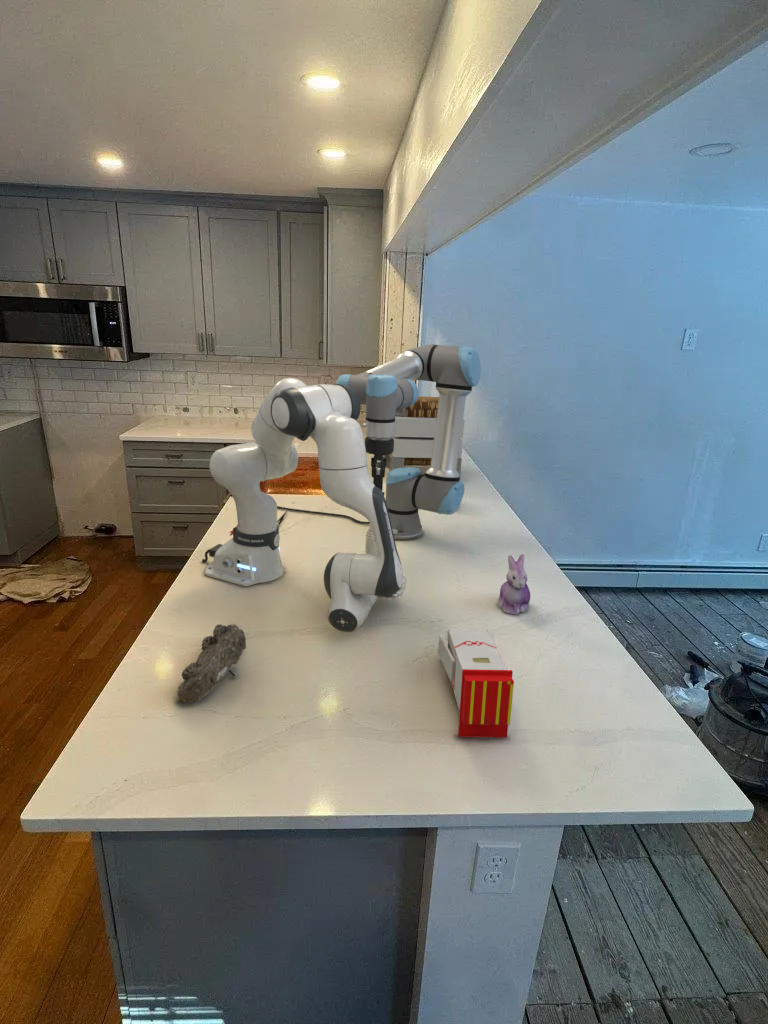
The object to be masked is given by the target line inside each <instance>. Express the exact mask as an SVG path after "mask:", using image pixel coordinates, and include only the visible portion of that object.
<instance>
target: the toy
mask: <svg viewBox="0 0 768 1024" xmlns="http://www.w3.org/2000/svg"><path fill="white" fill-rule="evenodd" d="M446 640H447V643H446V641H445V639H444V636H443V635H442V634H439V637H438V646H437V656H438V657H439V659H440V661H441V663H442V666H443V668H444V670H445V672H446V674H447V677H448V679H449V681H450V684H451V687H452V690H453V693H454V697H455V701H456V705H457V708H458V711H459V714H458V715H459V716H458V730H457V731H458V732H457V737H458V738H508V731H509V726H510V725H511V717H512V707H513V697H514V696H513V695H514V684H515V680H514V679H513V673H514V671H513V670H512V669H508V667H507V665H506V662H505V661H504V659H503V658H502V655H501V653H500V651H499V649H498V647H497V643H496V639H495V637H494V635H493V634H491V632H490V631H489V629H467V628H466V629H465V628H463V629H461V628H460V629H459V628H448V630H447V639H446Z"/></svg>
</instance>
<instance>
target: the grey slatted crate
mask: <svg viewBox="0 0 768 1024" xmlns="http://www.w3.org/2000/svg"><path fill="white" fill-rule="evenodd" d="M438 402H439V396H418V399H417V401H416V402H415V403H414V404H413V405H411V406H409V407H408V408H405V409H404V408H403V409H399V410H396V413H395V436H394V437H392V438H393V439H394V451H393V453H391V454H388V455H383V457H384V458H386V467H388V468H389V472H390V471H391V470H393V469H397V468H405V466H406V467H409V466H411V467H417V466H418V467H430V466H431V458H432V450H433V442H434V434H435V426H436V418H437V410H438ZM464 429H465V419H464V418H463V423H462V430H461V438H460V445H459V453H458V460H457V468H456V470H457V472H458V473H459V475H460V476H461V472H462V461H463V460H462V453H463V442H464V441H463V440H462V439H463V438H464V431H465V430H464ZM459 481H461V479H460V480H459Z"/></svg>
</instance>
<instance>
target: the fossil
mask: <svg viewBox="0 0 768 1024" xmlns="http://www.w3.org/2000/svg"><path fill="white" fill-rule="evenodd" d="M246 640H247V637H246V633H245V632H244V630H243V629H241V628H240V627H239V626H238V625H237V624H235V623H233V624H231V623H230V624H227V625H223V624H221V623H220V624H216V625H215V627H214V629H213V630H212V635H208V636H205V637H204V638H203V639H202V641H201V650H202V651H201V652H200V653H199V655H198V657H197V660H196V661H193V662H190V664H189V665H187V666H186V667H185V668H184V669H183V670H182V672H181V674H180V675H181V677H182V680H183V682H182V683H181V684H180V685H179V686H178V687H177V689H178V690H177V691H176V692H177V698H178V699H177V700H178V701H179V702H180V701H181V702H183V703H185V704H187V703H192V702H196V701H197V702H200V701H201V700H202V699H203V698H204V697H205V696H206V695H207V694H209V693H210V692H211V691H212V690H213V689H214V688H215V687H216V686H217V685H218V684H219V683H220V682H222V680H223V679H224V677H225V675H227V674H228V673H229V674H230V675H231V676H232V677H236V674H235V673H234V672H233V671H232V670H231V669H232V667H233V666H234V665H236V664H237V663H238V661H239V660H240V659H241V656H242V654H243V652H244V650H246V649H247V641H246Z"/></svg>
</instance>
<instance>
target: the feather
mask: <svg viewBox="0 0 768 1024" xmlns="http://www.w3.org/2000/svg"><path fill="white" fill-rule="evenodd" d="M287 512H288V510H286V511H285V512H284V513H283V514H282V515H281V517H280V518H278V519H277V523H278V527H279V528H280V525H281V524H282V522H283V519H284V518H285V516H286V514H287Z"/></svg>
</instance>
